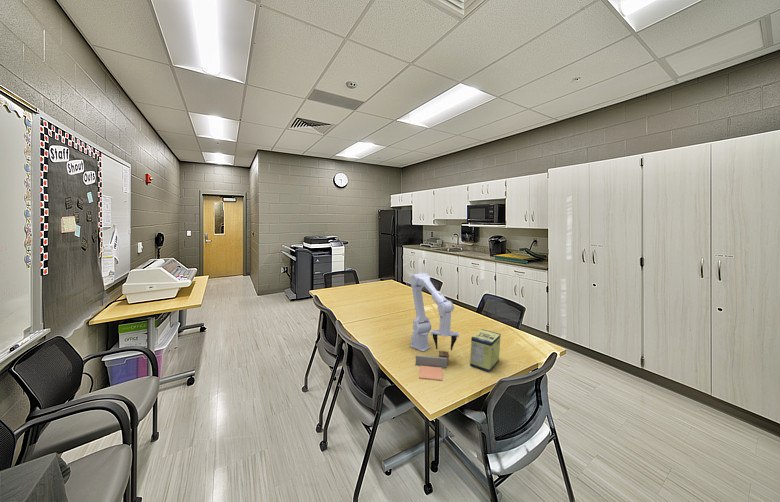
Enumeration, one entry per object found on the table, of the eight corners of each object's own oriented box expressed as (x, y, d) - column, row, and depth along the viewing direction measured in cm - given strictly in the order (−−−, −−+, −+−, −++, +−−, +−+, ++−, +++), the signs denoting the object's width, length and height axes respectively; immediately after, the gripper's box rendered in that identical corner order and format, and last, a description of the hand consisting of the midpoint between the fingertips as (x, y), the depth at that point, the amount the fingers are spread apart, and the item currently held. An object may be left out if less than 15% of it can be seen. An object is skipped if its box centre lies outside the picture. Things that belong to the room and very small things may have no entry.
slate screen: (415, 365, 147) (415, 356, 146) (415, 364, 148) (415, 355, 147) (446, 368, 144) (447, 359, 144) (446, 367, 145) (447, 357, 145)
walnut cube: (438, 364, 148) (439, 354, 148) (438, 359, 153) (438, 350, 153) (448, 365, 148) (448, 355, 147) (447, 360, 152) (448, 351, 152)
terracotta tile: (419, 378, 134) (419, 377, 134) (420, 366, 145) (420, 365, 145) (442, 380, 133) (442, 379, 133) (441, 368, 144) (441, 367, 144)
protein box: (499, 361, 153) (501, 333, 151) (489, 373, 141) (491, 343, 139) (480, 355, 159) (481, 328, 157) (469, 366, 147) (470, 337, 145)
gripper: (431, 325, 145) (430, 351, 147) (459, 328, 143) (458, 353, 144) (431, 321, 152) (430, 345, 154) (458, 323, 150) (457, 347, 151)
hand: (443, 348), depth 149 cm, fingers open, 7 cm apart
